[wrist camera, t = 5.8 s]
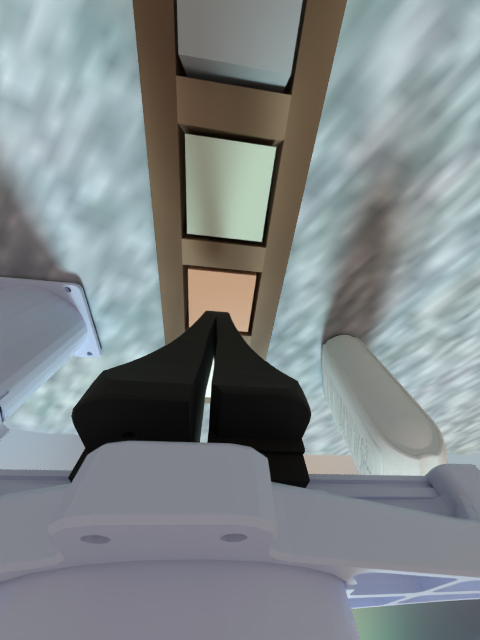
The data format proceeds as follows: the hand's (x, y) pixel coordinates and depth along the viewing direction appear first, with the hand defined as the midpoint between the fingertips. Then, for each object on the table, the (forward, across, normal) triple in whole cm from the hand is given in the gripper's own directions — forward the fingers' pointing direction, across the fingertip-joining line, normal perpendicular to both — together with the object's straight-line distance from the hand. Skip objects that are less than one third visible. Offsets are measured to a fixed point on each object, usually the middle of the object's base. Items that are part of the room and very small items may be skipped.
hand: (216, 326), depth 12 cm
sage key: (+5, 0, -7) cm, 8 cm away
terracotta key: (+5, 0, 0) cm, 5 cm away
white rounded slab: (+8, -14, +9) cm, 18 cm away
